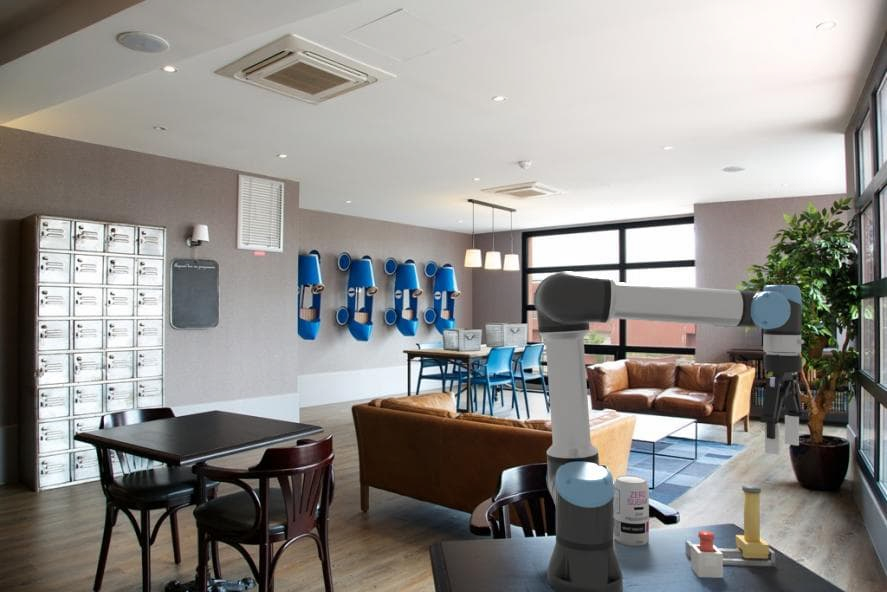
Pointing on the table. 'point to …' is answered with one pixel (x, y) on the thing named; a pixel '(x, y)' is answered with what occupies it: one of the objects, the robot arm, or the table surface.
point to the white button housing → (707, 562)
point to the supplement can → (631, 510)
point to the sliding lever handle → (752, 525)
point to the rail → (739, 557)
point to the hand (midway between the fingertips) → (782, 449)
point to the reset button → (706, 541)
